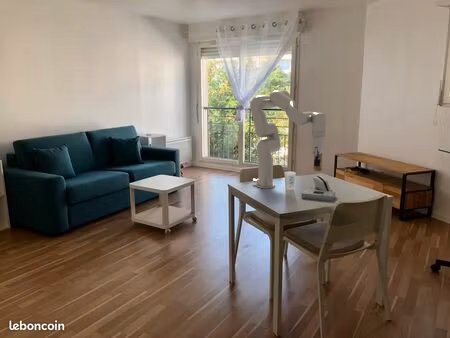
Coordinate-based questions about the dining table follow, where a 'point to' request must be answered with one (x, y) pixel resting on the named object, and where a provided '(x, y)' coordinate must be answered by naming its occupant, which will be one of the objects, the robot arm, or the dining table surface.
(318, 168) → the peg
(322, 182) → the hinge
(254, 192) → the dining table surface
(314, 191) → the flat grey box
